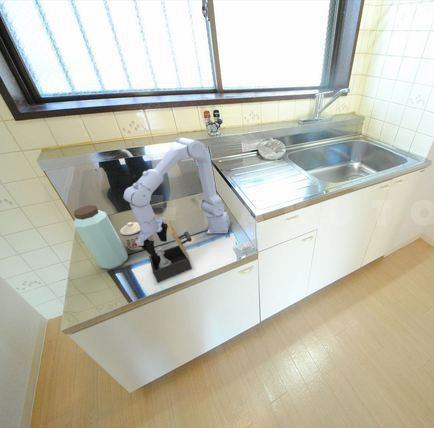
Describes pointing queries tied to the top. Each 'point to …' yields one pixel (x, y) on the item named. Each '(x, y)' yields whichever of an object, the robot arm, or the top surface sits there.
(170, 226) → the tan elongated piece
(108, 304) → the top surface
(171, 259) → the black open-top bin
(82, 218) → the water bottle
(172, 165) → the robot arm
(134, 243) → the teacup with lid
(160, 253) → the chess piece
